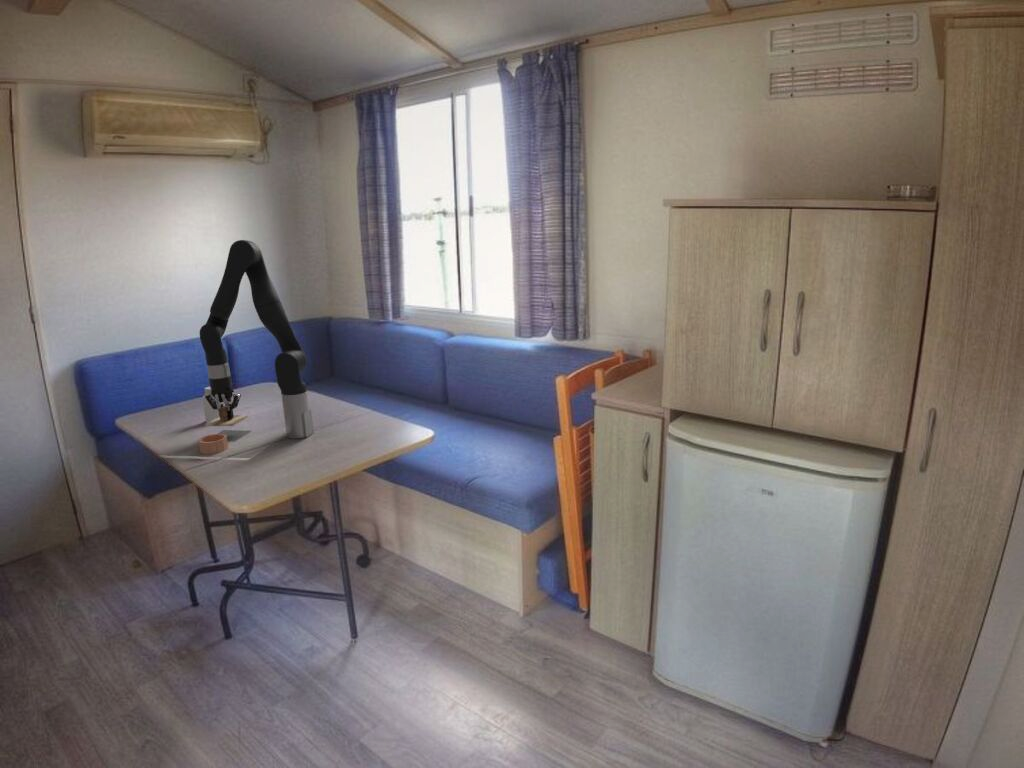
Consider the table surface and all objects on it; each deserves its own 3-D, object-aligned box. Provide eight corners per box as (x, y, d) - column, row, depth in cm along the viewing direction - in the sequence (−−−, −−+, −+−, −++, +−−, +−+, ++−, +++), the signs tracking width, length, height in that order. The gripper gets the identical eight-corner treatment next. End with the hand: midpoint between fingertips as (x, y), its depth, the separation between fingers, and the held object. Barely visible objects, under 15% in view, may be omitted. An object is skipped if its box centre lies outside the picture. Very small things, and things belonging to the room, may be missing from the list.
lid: (248, 417, 238) (246, 402, 236) (232, 426, 227) (230, 411, 226) (222, 417, 239) (219, 403, 238) (205, 426, 229) (202, 411, 227)
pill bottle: (219, 418, 259) (214, 384, 255) (231, 421, 255) (226, 386, 251) (202, 423, 252) (196, 388, 249) (214, 426, 248) (208, 391, 245)
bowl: (233, 447, 225) (231, 434, 224) (219, 456, 217) (217, 443, 215) (210, 446, 227) (208, 433, 225) (195, 455, 218) (193, 442, 217)
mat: (252, 432, 240) (252, 430, 240) (235, 443, 229) (234, 441, 229) (223, 431, 242) (223, 430, 242) (205, 442, 230) (205, 440, 230)
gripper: (242, 372, 231) (249, 416, 236) (208, 373, 233) (215, 416, 237) (231, 377, 224) (238, 422, 229) (196, 378, 226) (204, 422, 230)
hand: (227, 419), depth 233 cm, fingers closed on lid
